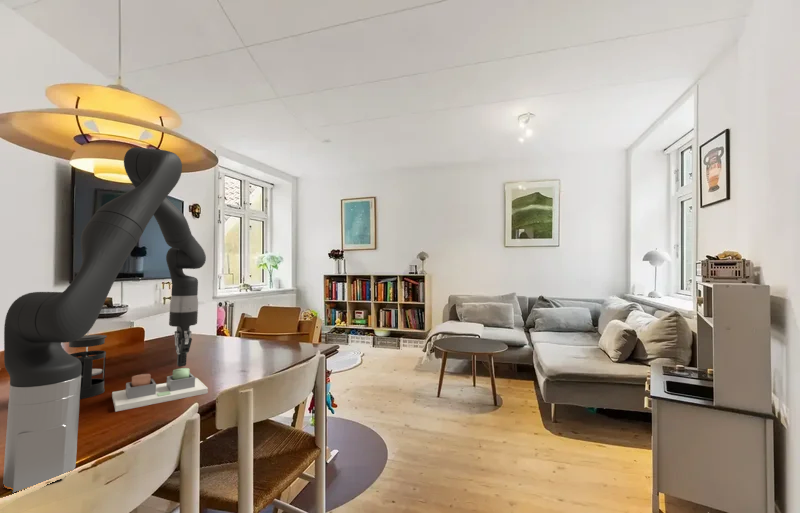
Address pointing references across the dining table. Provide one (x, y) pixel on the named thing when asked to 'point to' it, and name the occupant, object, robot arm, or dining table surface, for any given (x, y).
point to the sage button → (180, 373)
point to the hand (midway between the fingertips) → (181, 365)
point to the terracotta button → (141, 380)
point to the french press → (90, 365)
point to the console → (157, 392)
